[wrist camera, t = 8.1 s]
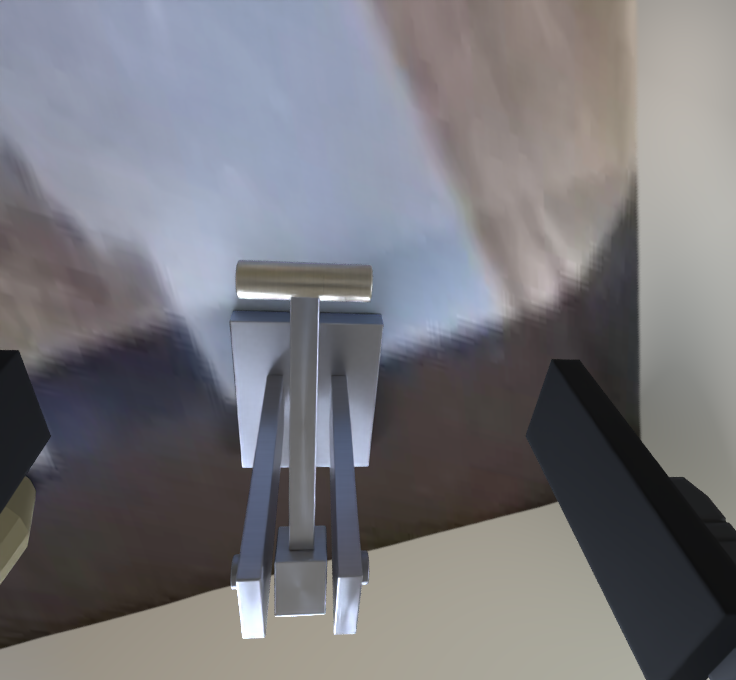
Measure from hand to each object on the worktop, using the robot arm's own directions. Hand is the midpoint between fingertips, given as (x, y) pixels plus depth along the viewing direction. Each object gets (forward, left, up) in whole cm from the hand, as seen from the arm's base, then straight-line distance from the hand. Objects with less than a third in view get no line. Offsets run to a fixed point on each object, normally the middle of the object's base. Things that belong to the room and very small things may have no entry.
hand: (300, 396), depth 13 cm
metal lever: (+7, +2, -6) cm, 9 cm away
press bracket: (+12, +4, -16) cm, 20 cm away
